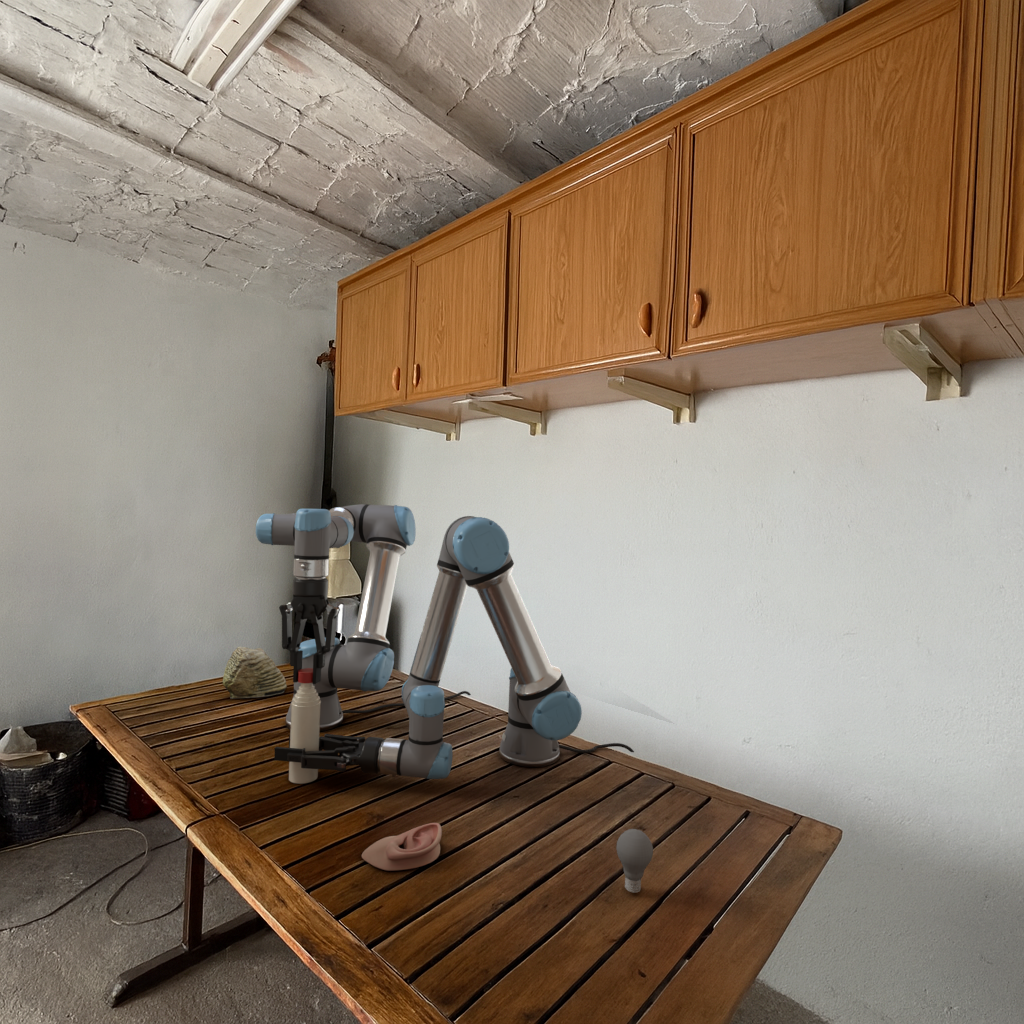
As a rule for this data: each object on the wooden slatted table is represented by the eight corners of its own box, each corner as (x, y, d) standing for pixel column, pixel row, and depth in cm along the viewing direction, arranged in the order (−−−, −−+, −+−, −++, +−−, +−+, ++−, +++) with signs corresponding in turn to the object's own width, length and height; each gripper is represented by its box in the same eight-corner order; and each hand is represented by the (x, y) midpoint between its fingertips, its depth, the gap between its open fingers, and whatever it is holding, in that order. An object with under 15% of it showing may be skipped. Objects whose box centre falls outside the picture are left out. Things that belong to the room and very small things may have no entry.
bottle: (282, 778, 142) (286, 673, 141) (306, 769, 147) (309, 668, 146) (300, 786, 138) (304, 679, 138) (323, 776, 143) (327, 673, 143)
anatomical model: (354, 842, 109) (381, 811, 120) (353, 865, 109) (380, 831, 121) (427, 854, 107) (448, 821, 118) (426, 877, 107) (447, 842, 118)
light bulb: (610, 879, 108) (613, 822, 108) (644, 879, 109) (647, 822, 109) (619, 902, 102) (622, 840, 102) (655, 901, 103) (658, 840, 103)
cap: (306, 677, 145) (307, 667, 145) (319, 680, 143) (320, 670, 143) (294, 681, 141) (294, 671, 141) (307, 684, 139) (307, 673, 139)
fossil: (218, 695, 195) (220, 647, 195) (278, 685, 208) (279, 640, 207) (228, 703, 189) (230, 653, 188) (289, 692, 201) (290, 645, 201)
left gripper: (266, 577, 139) (262, 683, 139) (340, 581, 137) (336, 689, 137) (283, 573, 146) (279, 674, 147) (353, 577, 144) (349, 679, 145)
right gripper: (367, 792, 131) (260, 782, 133) (393, 755, 150) (300, 747, 153) (368, 756, 131) (262, 747, 133) (395, 724, 150) (301, 716, 152)
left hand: (306, 681), depth 142 cm, fingers closed on cap, 4 cm apart
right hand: (282, 747), depth 143 cm, fingers closed on bottle, 6 cm apart
